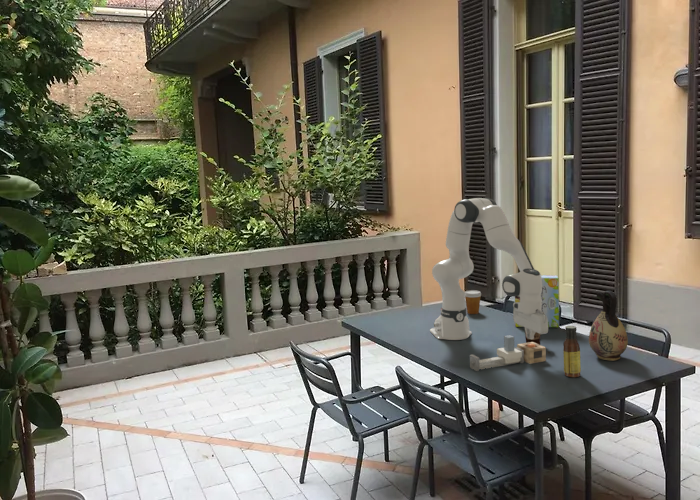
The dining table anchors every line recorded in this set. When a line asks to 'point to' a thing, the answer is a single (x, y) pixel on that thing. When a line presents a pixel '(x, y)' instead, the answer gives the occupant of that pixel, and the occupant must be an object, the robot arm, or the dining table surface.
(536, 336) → the coffee cup
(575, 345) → the sauce bottle
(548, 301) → the snack box
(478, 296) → the disposable coffee cup
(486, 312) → the dining table surface
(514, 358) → the carriage
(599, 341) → the ceramic jug
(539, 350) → the cabinet
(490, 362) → the rail
